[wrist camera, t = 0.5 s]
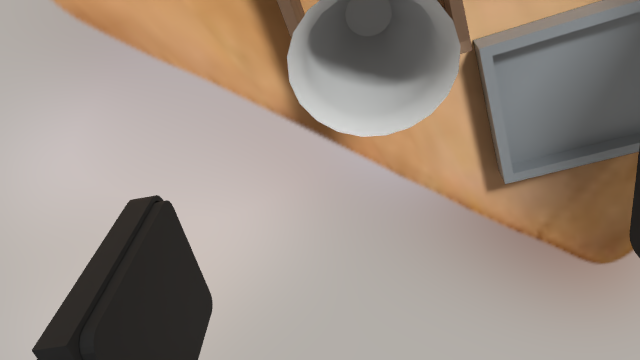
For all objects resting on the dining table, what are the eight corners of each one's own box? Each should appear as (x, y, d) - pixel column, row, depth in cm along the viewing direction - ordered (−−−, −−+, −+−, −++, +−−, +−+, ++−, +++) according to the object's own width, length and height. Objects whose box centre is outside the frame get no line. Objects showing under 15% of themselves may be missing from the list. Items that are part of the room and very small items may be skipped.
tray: (676, -23, 35) (694, -17, 33) (675, 126, 41) (690, 138, 39) (473, 40, 38) (479, 48, 37) (498, 170, 44) (505, 184, 42)
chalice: (409, -81, 34) (451, -42, 19) (423, 18, 38) (468, 120, 22) (305, -55, 36) (267, 3, 20) (327, 39, 39) (308, 149, 24)
